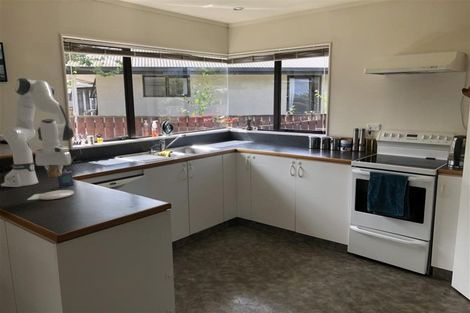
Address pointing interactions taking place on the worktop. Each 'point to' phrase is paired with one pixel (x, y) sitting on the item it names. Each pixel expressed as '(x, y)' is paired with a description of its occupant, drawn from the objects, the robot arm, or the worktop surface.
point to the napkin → (34, 197)
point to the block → (53, 171)
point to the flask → (65, 179)
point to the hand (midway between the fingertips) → (54, 173)
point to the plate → (56, 194)
